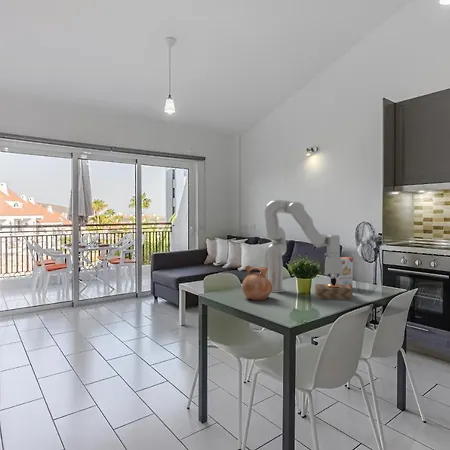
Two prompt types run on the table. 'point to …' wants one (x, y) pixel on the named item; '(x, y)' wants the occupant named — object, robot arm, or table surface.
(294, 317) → the table surface
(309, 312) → the table surface
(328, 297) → the brown patterned box
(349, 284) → the cracker box
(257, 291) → the jug
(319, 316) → the table surface
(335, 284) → the knob
